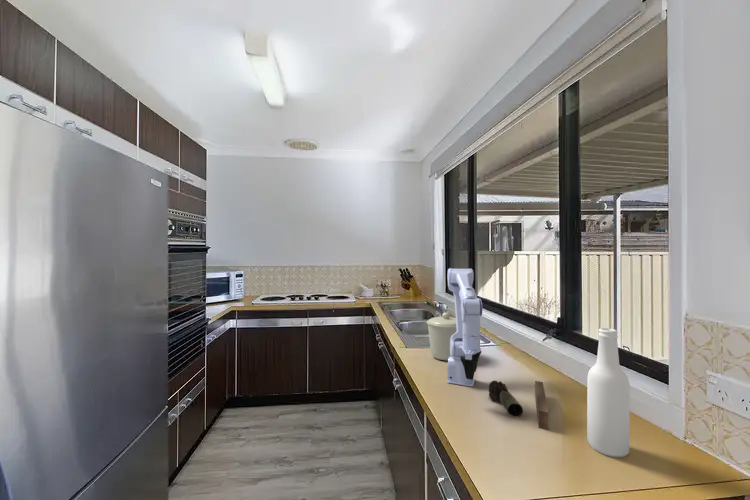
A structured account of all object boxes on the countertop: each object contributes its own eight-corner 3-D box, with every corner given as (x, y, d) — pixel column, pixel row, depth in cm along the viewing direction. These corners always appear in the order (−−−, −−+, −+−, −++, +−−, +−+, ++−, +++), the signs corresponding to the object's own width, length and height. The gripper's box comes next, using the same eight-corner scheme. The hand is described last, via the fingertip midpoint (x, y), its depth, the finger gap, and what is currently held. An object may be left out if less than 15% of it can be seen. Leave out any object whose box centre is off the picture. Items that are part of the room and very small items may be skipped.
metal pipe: (523, 418, 101) (523, 399, 101) (501, 417, 102) (501, 399, 102) (503, 392, 119) (503, 376, 119) (484, 392, 119) (483, 376, 119)
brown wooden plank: (538, 427, 95) (538, 410, 95) (534, 394, 117) (534, 380, 117) (548, 429, 94) (548, 412, 94) (542, 396, 116) (542, 382, 116)
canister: (470, 364, 149) (470, 316, 149) (429, 363, 149) (429, 315, 149) (460, 351, 167) (460, 309, 167) (423, 351, 167) (424, 309, 168)
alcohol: (579, 444, 87) (580, 327, 87) (598, 435, 92) (598, 324, 92) (617, 462, 80) (618, 335, 80) (636, 452, 84) (636, 331, 84)
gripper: (462, 329, 122) (462, 366, 122) (455, 338, 109) (455, 380, 109) (482, 331, 120) (482, 369, 120) (478, 340, 106) (478, 384, 106)
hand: (471, 375), depth 114 cm, fingers open, 7 cm apart
